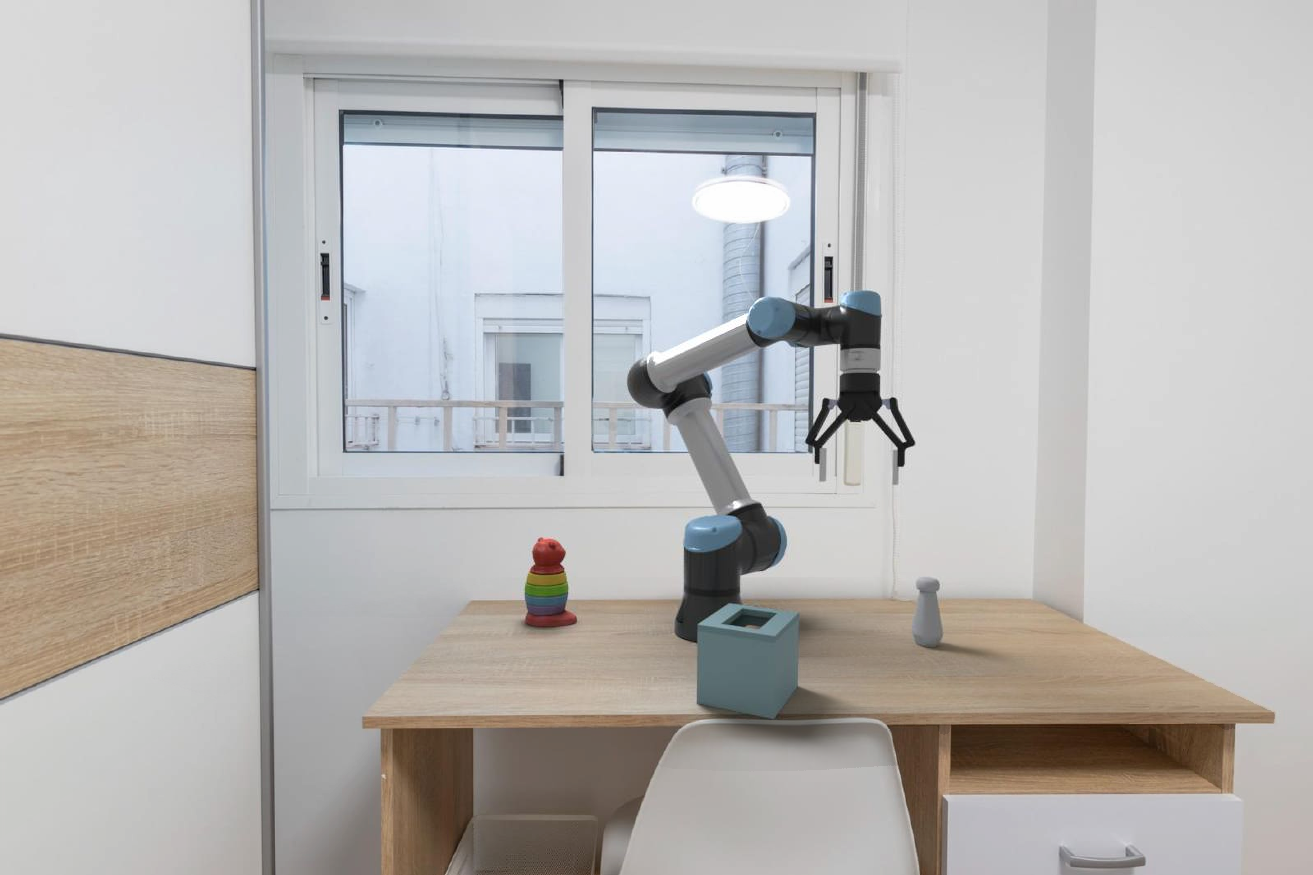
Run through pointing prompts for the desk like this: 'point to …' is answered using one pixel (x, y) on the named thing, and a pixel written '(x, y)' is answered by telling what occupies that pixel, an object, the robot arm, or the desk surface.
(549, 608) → the stacking bear
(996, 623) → the desk surface
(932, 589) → the salt shaker
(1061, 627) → the desk surface
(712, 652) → the coin box
